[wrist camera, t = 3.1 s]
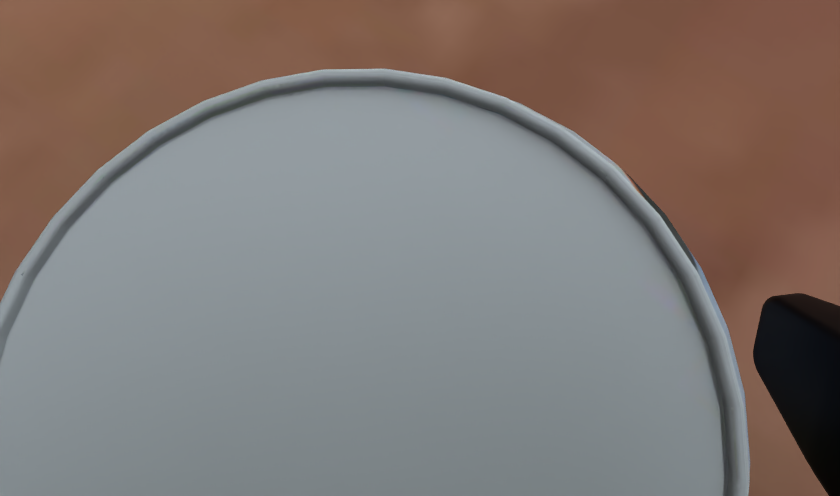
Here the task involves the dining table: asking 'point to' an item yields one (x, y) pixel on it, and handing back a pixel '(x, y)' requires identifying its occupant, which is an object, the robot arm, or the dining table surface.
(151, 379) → the beverage can
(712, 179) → the dining table surface
